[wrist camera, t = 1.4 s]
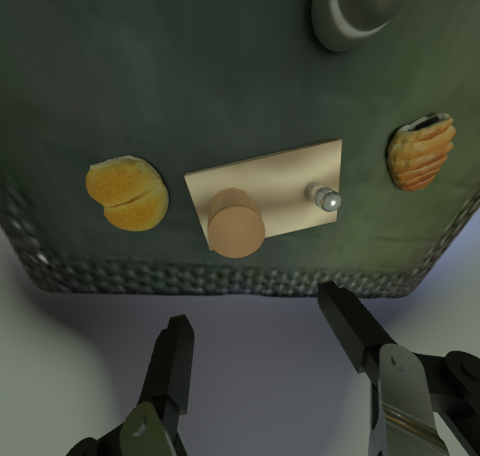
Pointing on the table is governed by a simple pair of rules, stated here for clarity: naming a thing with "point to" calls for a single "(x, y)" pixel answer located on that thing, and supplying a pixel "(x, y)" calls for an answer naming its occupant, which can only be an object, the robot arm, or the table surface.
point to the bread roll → (128, 192)
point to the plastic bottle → (352, 20)
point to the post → (323, 196)
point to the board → (274, 185)
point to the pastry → (420, 151)
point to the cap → (234, 224)
